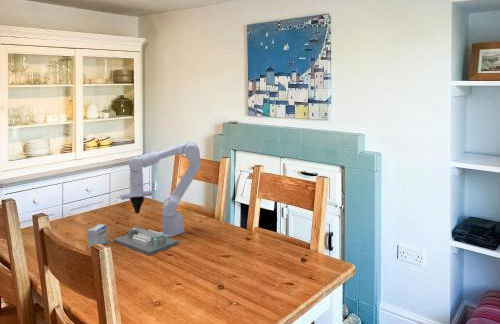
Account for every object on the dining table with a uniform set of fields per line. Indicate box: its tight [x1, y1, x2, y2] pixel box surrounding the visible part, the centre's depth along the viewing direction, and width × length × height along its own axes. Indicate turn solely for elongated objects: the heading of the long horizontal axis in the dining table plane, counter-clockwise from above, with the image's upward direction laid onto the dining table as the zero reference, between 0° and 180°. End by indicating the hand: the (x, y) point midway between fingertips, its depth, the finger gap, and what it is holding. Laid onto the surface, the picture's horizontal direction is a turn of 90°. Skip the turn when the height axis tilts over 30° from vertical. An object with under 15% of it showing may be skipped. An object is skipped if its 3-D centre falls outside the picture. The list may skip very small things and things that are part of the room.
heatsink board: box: [113, 224, 180, 256], centre depth 187 cm, size 16×24×6 cm, turn 52°
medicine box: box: [86, 223, 108, 250], centre depth 182 cm, size 8×4×9 cm, turn 168°
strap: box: [131, 226, 163, 239], centre depth 186 cm, size 17×4×1 cm, turn 53°
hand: (137, 212), depth 196 cm, fingers closed
